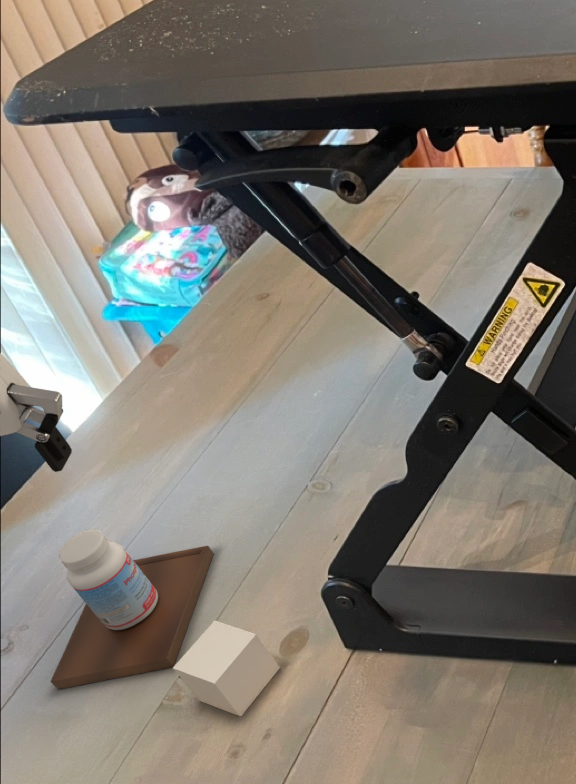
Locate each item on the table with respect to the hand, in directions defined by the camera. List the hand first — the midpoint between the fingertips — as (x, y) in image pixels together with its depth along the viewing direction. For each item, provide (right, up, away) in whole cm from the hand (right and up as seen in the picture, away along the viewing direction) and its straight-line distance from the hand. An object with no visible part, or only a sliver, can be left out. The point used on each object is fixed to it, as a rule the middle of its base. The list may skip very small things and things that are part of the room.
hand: (17, 470), depth 109 cm
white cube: (+21, -23, +3) cm, 32 cm away
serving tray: (+5, -19, +13) cm, 24 cm away
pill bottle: (+5, -18, +12) cm, 22 cm away
